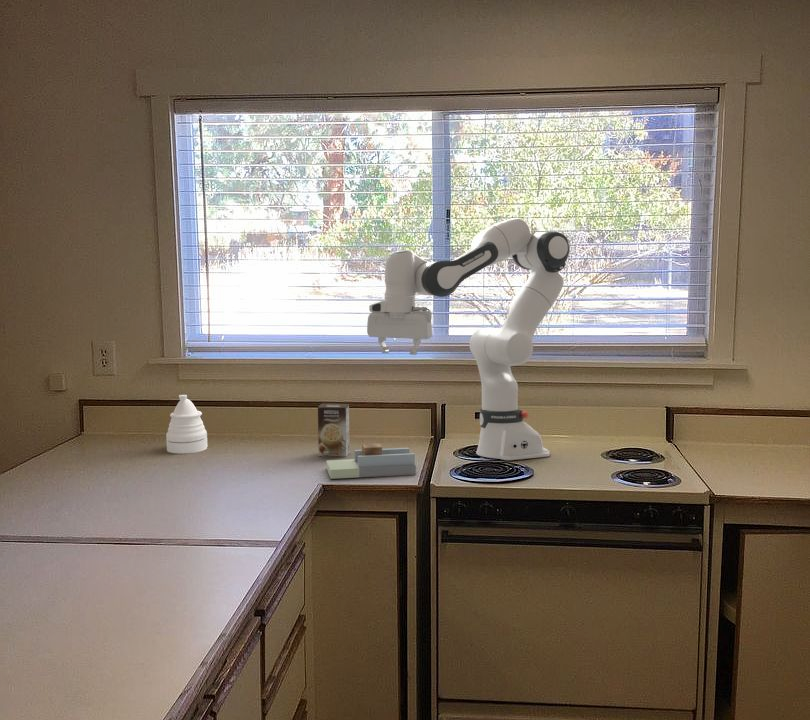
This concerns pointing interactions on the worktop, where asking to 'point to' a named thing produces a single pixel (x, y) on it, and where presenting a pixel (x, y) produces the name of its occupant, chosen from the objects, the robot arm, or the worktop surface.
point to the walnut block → (371, 449)
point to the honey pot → (186, 429)
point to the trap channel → (374, 464)
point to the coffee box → (333, 429)
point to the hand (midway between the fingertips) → (399, 353)
